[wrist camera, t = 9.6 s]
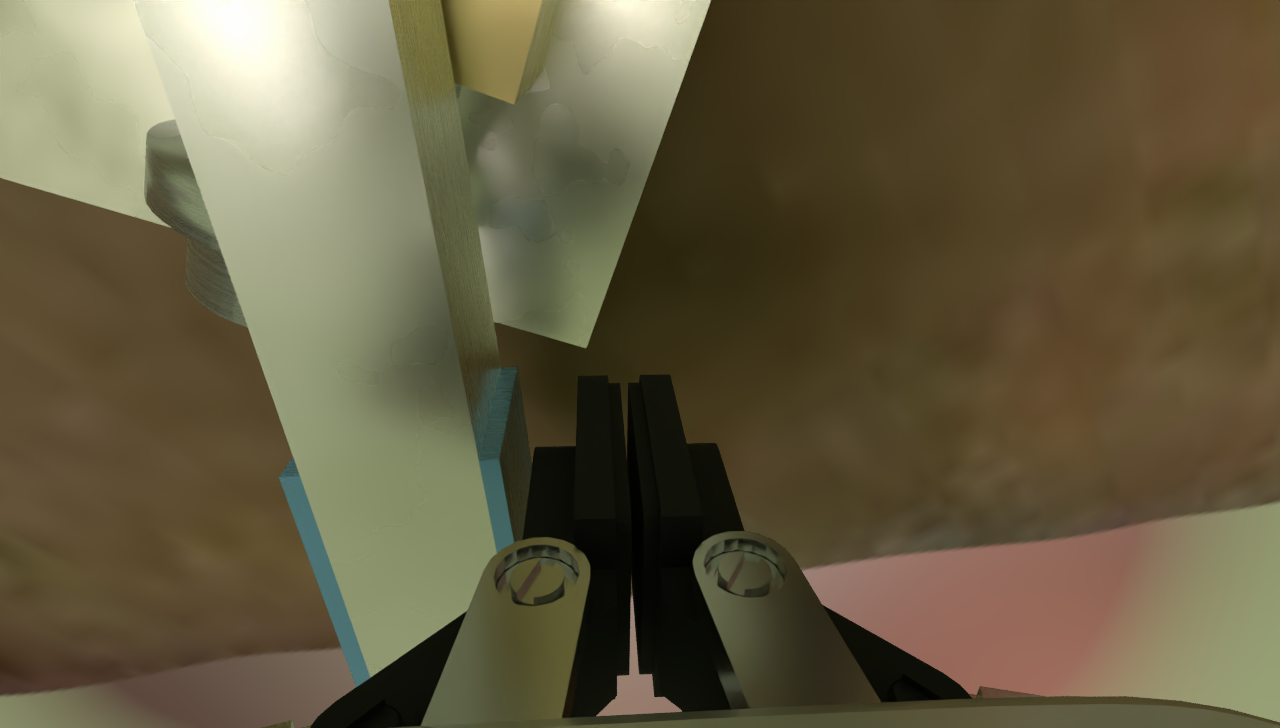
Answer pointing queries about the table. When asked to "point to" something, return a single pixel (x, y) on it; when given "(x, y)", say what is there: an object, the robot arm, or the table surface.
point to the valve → (490, 118)
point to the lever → (358, 293)
